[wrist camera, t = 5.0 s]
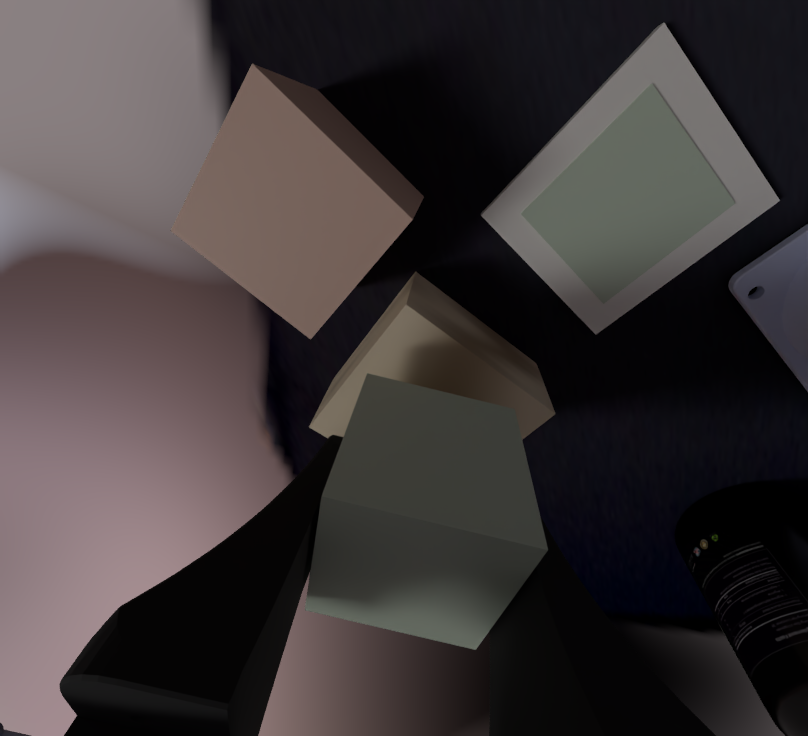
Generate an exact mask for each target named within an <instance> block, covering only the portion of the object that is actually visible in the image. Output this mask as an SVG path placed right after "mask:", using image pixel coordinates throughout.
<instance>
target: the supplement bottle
mask: <svg viewBox="0 0 808 736" xmlns="http://www.w3.org/2000/svg"><path fill="white" fill-rule="evenodd" d="M675 542H676V545H677V548H678V550H679V552H680V554H681V556H682V558H683V560H684V561H685V563H686V565H687V567H688V569H689V571H690V573H691V574H692V576H693V578H694V580H695V582H696V584H697V585H698V587H699V589H700V591H701V593H702V594H703V596H704V598H705V600H706V602H707V603H708V605H709V607H710V609H711V611H712V613H713V614H714V616H715V618H716V620H717V622H718V623H719V625H720V627H721V629H722V631H723V632H724V634H725V636H726V638H727V640H728V642H729V643H730V645H731V647H732V649H733V651H734V652H735V654H736V656H737V658H738V660H739V661H740V663H741V665H742V667H743V669H744V670H745V672H746V674H747V676H748V678H749V680H750V681H751V683H752V685H753V687H754V689H755V690H756V692H757V694H758V696H759V698H760V700H761V701H762V703H763V705H764V706H765V708H766V710H767V712H768V713H769V715H770V717H771V718H772V720H773V722H774V723H775V725H776V726H777V727H778V728H779V730H780V731H781V732H782V733H783V734H784V735H785V736H808V499H806V498H805V497H803V496H801V495H799V494H797V493H794V492H792V491H789V490H785V489H782V488H777V487H770V486H744V487H737V488H731V489H727V490H724V491H720V492H717V493H715V494H712V495H710V496H707V497H705V498H703V499H701V500H700V501H698V502H696V503H695V504H694V505H692V506H691V507H690V508H689V509H687V510H686V511H685V512H684V514H683V515H682V516H681V518H680V519H679V521H678V523H677V526H676V529H675Z"/></svg>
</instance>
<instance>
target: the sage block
mask: <svg viewBox="0 0 808 736" xmlns="http://www.w3.org/2000/svg"><path fill="white" fill-rule="evenodd" d="M547 551H548V547H547V543H546V539H545V535H544V530H543V526H542V522H541V518H540V514H539V509H538V505H537V501H536V497H535V492H534V488H533V484H532V480H531V476H530V471H529V467H528V463H527V459H526V454H525V450H524V446H523V442H522V437H521V433H520V429H519V425H518V421H517V416H516V412H515V409H512V408H508V407H504V406H500V405H496V404H492V403H488V402H484V401H480V400H475V399H471V398H467V397H463V396H459V395H455V394H451V393H447V392H443V391H438V390H434V389H430V388H426V387H422V386H418V385H414V384H410V383H406V382H402V381H397V380H393V379H389V378H385V377H381V376H377V375H373V374H369V373H367V375H366V378H365V380H364V383H363V386H362V388H361V391H360V394H359V396H358V399H357V402H356V405H355V407H354V410H353V413H352V415H351V418H350V421H349V423H348V426H347V429H346V432H345V434H344V437H343V440H342V442H341V445H340V448H339V450H338V453H337V456H336V459H335V461H334V464H333V467H332V469H331V472H330V475H329V477H328V480H327V483H326V486H325V488H324V491H323V494H322V496H321V503H320V510H319V517H318V524H317V530H316V537H315V544H314V551H313V558H312V564H311V571H310V578H309V586H308V592H307V598H306V605H305V610H307V611H311V612H315V613H320V614H324V615H328V616H332V617H337V618H341V619H345V620H350V621H354V622H358V623H363V624H367V625H371V626H376V627H380V628H384V629H389V630H393V631H397V632H402V633H406V634H410V635H414V636H419V637H423V638H428V639H432V640H436V641H441V642H445V643H449V644H454V645H458V646H462V647H467V648H471V649H475V650H476V649H477V647H478V646H479V644H480V643H481V642H482V640H483V639H484V637H485V636H486V635H487V633H488V632H489V631H490V629H491V628H492V627H493V625H494V624H495V622H496V621H497V620H498V618H499V617H500V616H501V614H502V613H503V611H504V610H505V609H506V607H507V606H508V605H509V603H510V602H511V600H512V599H513V598H514V596H515V595H516V594H517V592H518V591H519V589H520V588H521V587H522V585H523V584H524V583H525V581H526V580H527V578H528V577H529V576H530V574H531V573H532V572H533V570H534V569H535V567H536V566H537V565H538V563H539V562H540V561H541V559H542V558H543V556H544V555H545V554H546V552H547Z"/></svg>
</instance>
